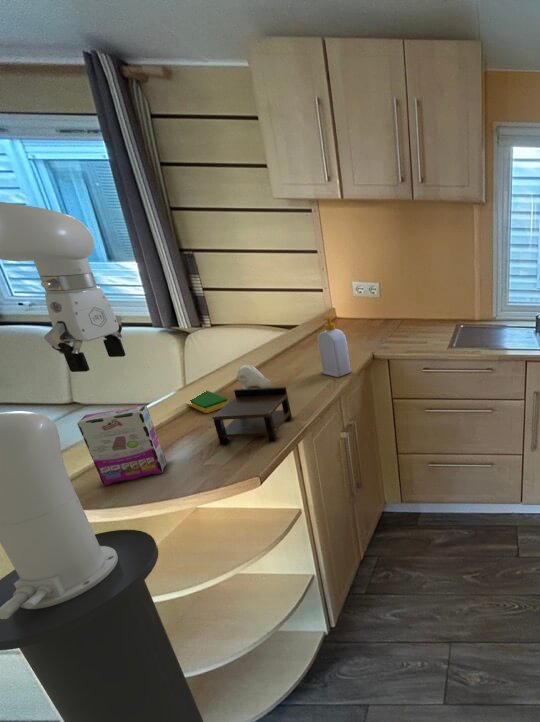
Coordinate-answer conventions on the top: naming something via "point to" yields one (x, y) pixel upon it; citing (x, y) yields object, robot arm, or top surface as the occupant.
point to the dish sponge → (208, 402)
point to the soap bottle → (333, 350)
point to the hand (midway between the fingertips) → (100, 363)
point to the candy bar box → (123, 444)
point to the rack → (253, 414)
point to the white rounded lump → (252, 377)
